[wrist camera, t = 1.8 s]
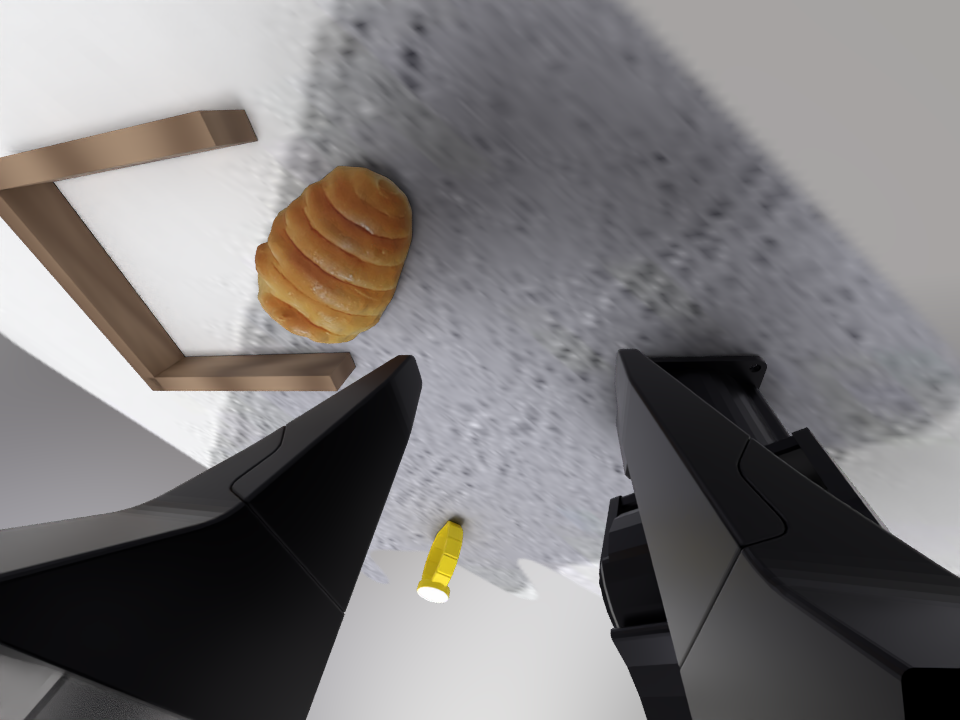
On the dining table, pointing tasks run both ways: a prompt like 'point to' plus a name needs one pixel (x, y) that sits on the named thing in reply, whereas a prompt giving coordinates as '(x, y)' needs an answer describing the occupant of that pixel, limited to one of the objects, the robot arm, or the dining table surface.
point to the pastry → (335, 255)
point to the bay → (101, 286)
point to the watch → (441, 563)
